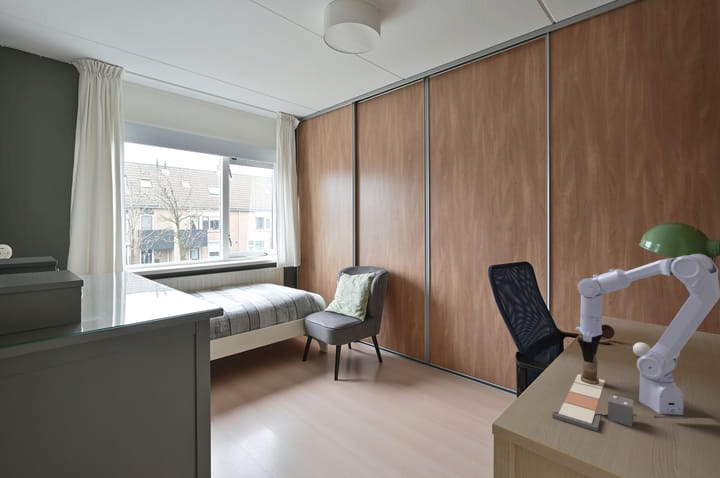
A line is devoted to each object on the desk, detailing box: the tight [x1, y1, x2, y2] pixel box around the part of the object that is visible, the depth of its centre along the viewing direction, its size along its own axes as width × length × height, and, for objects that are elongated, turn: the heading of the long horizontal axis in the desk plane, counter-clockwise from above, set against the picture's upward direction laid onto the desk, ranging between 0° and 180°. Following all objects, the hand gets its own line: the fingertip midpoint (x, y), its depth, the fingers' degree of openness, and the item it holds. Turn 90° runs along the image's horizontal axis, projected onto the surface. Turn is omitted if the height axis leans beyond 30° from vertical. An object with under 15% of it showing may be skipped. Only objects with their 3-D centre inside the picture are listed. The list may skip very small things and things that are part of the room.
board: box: [551, 374, 606, 432], centre depth 103 cm, size 33×10×1 cm, turn 140°
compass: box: [599, 324, 615, 346], centre depth 152 cm, size 8×8×7 cm
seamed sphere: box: [628, 342, 651, 358], centre depth 136 cm, size 8×6×6 cm
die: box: [607, 394, 634, 428], centre depth 92 cm, size 5×5×5 cm
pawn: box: [580, 355, 600, 385], centre depth 112 cm, size 5×5×9 cm
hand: (590, 358), depth 112 cm, fingers open, 7 cm apart
